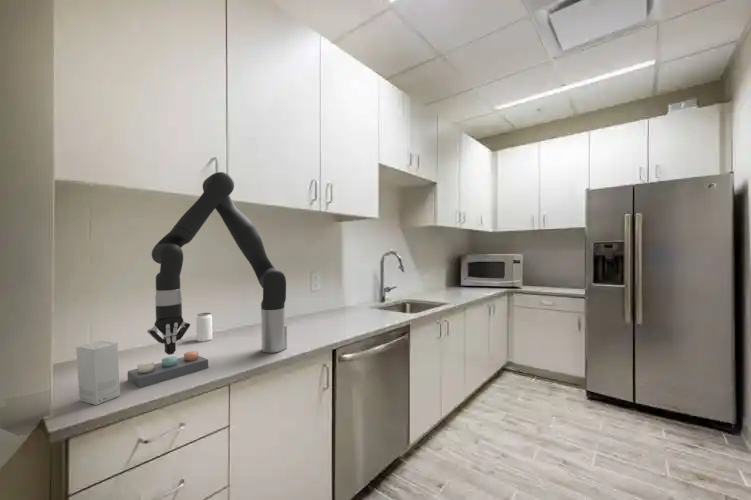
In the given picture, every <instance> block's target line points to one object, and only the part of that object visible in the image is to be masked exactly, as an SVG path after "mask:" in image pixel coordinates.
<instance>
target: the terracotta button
mask: <svg viewBox="0 0 751 500" xmlns="http://www.w3.org/2000/svg"><path fill="white" fill-rule="evenodd" d="M198 356H199V351H196V350H193V351H192V350H191V351H187V352H185V353H184V354H183V357H184V360H185V361H193V360H196V359H198Z"/></svg>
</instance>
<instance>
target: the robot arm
mask: <svg viewBox="0 0 751 500" xmlns="http://www.w3.org/2000/svg"><path fill="white" fill-rule="evenodd" d="M234 188H235V182H234V180H233V177H232V176H231V175H229V174H228V173H227V172H224V171H223V172H222V171H220V172H219V171H218V172H215V173H213V174H211V175H209V176H208V177H207V178H205V180H204V181H203V183H202V191H203V192H202V194H201V195H200V196H199V198H198V199H197V200H196V201H195V202H194V203H193V205H191V207H189V208H188V210H187V211H185V213H184V214H182V216H181V217H180V218H179V220H178V221H177V222H176V224H175V225H174V226H173V228H172V229H171V230H170V231H169V232H168V233H167V234H166V235H164V237H162V238H161V239H160V240H159V241H158V242H157V243H156V244H155V245H154V247H153V248H152V251H151V258H152V261H154V262H155V263H157V264H160V268H159V272H158V273H157V274H156V276H155V297H154V298H155V299H154V300H155V322H154V326H152V328H149V329H148V330H147V331H146V332H147V334H149V335H150V336H151V337H152V338H153V339H154V340H156V342H157V343H160V344H164V353H165V354H167V355H169V356H171V355H174V354H175V352H176V349H177V348H176V342H178V341H180V340H181V339H182V338H183V337H184V335H185V334H186V332H187V331H188V330H189V328H190V327H191V324H190V323H189V322H186V321H184V318H183V307H182V301H183V298H182V291H181V277H180V276H181V273H182V269H183V263H184V252H183V250H182V247H183V246H185V245H187V244H189V243H190V242H191V241H192V240H193V239H194V238H195V236H196V235H197V234H198V232H199V231H200V230H201V229H202V227H203V225H204V224H205V223H206V221H207V220H208V218H209V216H211V214H213V212H214V210H216V211H217V212H218V214H219V216H220V218H221V219H222V222H223V223H224V225H225V226H226V228H227V231H228V232H229V233H230V235H231V236H232V239H233V240H234V242H235V243H236V245H237V247H238V248H239V250H240V251H241V253H242V254H243V256H244V257H245V258H246V260H247V261H248V262H249V264H250V266H251V268H252V269H253V272H254V274H255V276H256V278H257V281H258V283H259V285H260V287H261V288H262V301H261V304H260V307H261V309H260V313H261V314H260V315H261V319H260V320H261V327H260V328H261V351H262V352H263V353H267V354H269V353H271V354H272V353H273V354H274V353H279V352H282V351H284V350H285V349H287V348H288V337H287V336H288V330H287V329H288V327H287V325H286V324H285V323H286V322H285V317H286V316H285V314H286V313H285V303H286V300H287V278H286V275H285V274H284V273H283V272H282V271H281V270H279V269H276V268H275V266H274V265H273V264H272V262H271V261H270V259H269V257H268V255H267V253H266V250H265V246H264V244H263V241H262V238H261V236H260V234H259V232H258V230H257V228H256V226H255V225H254V224H253V222H252V221H251V220H250V219H249V218H248V217H247V216H246V215H245V214H244V213H243V212H241V210H239V209H238V208H237V206H236V204H235V203H234V201H233V199H232V197H231V194H232V192H234ZM158 331H159V332H160V333H161V335H162V337H161V336H160V335H159V334H158Z"/></svg>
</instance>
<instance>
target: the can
mask: <svg viewBox="0 0 751 500" xmlns="http://www.w3.org/2000/svg"><path fill="white" fill-rule="evenodd" d="M195 321H196V322H195V323H196V324H195V325H196V327H195V328H196V330H195V331H196V341H197V342H200V343H203V342H209V341H212V339H213V316H212V313H211V312H202V313H201V312H200V313H198V314H197V315H196V319H195Z"/></svg>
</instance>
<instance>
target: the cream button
mask: <svg viewBox="0 0 751 500" xmlns="http://www.w3.org/2000/svg"><path fill="white" fill-rule="evenodd" d="M154 364H155V362H152V361H147V362H141V363H139V364H137V366H136V367H137V368H136V369H138V373H147V372H151V371H153V370H154Z"/></svg>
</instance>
